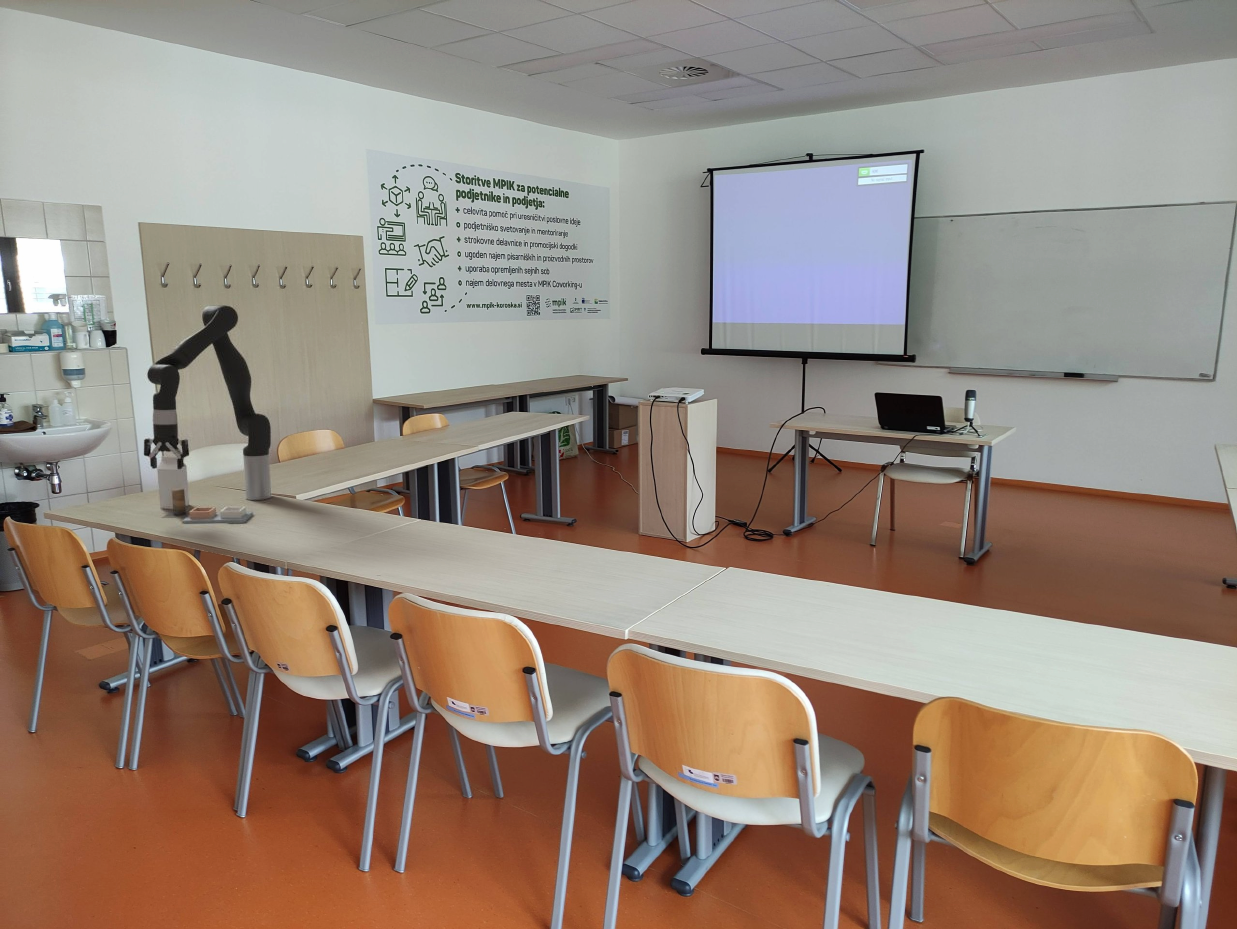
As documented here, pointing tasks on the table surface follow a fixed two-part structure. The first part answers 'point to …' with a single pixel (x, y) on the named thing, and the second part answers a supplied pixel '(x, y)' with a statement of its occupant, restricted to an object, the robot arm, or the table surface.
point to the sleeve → (178, 502)
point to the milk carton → (171, 481)
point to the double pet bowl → (218, 515)
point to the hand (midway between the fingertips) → (167, 468)
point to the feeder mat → (171, 515)
